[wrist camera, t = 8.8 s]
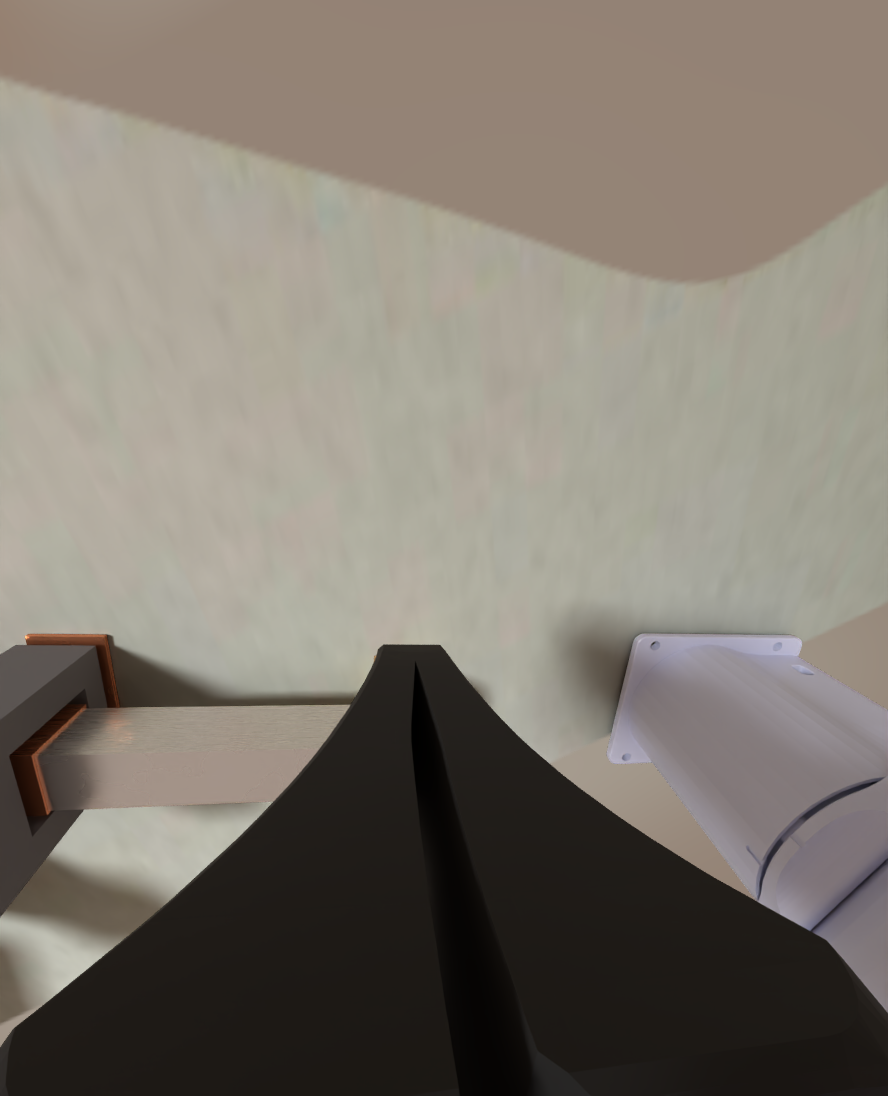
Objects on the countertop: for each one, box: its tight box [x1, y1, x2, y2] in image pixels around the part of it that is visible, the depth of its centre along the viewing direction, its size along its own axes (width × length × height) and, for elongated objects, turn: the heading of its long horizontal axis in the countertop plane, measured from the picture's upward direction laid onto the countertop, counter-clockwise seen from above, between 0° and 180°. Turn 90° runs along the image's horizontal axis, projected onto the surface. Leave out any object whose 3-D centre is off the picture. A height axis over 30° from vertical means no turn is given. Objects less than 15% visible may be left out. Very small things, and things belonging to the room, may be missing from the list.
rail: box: [9, 634, 376, 816], centre depth 17 cm, size 22×7×4 cm, turn 86°
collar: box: [0, 645, 108, 917], centre depth 15 cm, size 3×6×7 cm, turn 176°
